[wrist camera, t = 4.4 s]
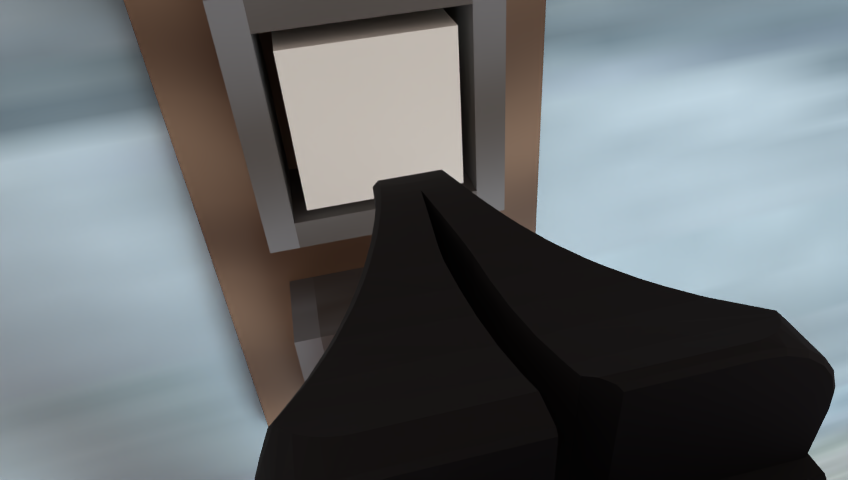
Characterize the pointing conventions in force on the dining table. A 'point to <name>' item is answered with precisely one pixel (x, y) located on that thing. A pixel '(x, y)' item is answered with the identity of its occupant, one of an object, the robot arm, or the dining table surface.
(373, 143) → the cream button
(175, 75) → the block
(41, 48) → the dining table surface
